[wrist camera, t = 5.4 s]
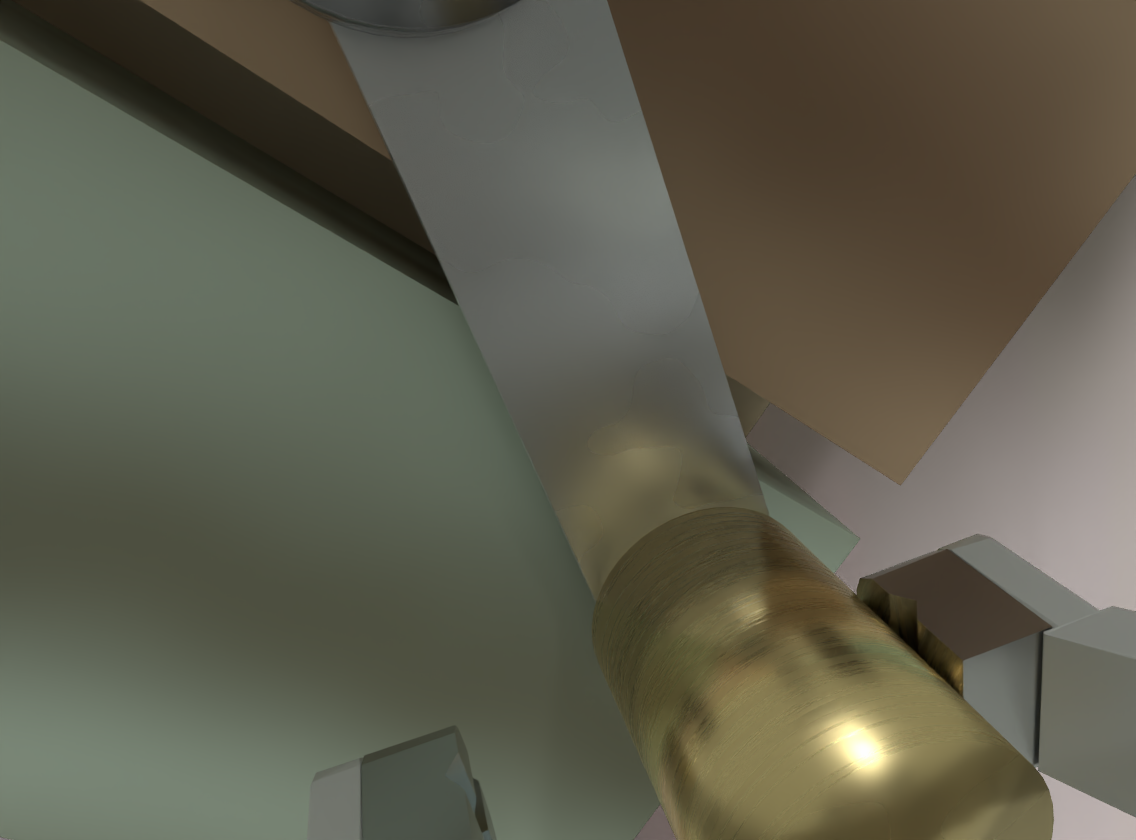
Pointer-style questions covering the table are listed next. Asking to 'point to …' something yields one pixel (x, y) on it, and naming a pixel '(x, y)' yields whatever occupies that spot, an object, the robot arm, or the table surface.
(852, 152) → the door board
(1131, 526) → the table surface
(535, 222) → the bar
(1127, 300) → the table surface
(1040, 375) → the table surface
